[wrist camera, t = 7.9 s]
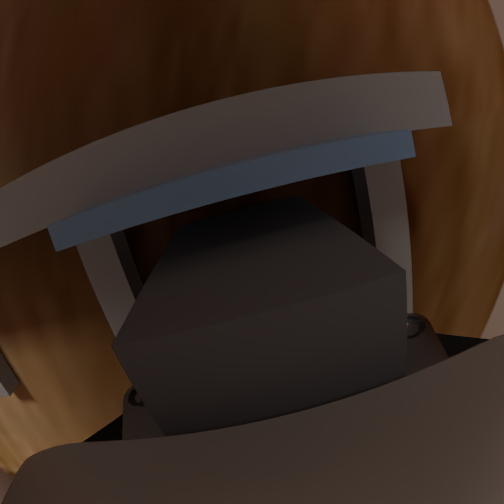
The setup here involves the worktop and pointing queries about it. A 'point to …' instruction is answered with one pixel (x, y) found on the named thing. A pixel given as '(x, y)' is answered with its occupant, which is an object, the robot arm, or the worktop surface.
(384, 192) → the grey slotted rack
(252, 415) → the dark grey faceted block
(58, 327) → the worktop surface
